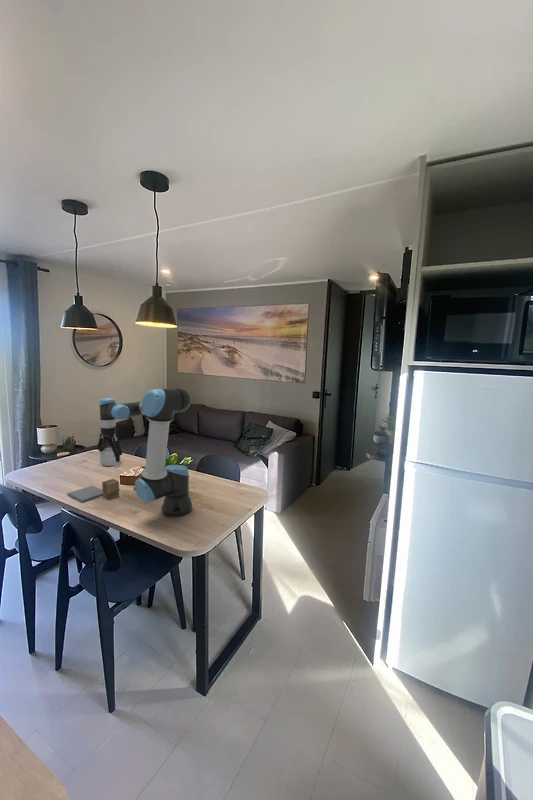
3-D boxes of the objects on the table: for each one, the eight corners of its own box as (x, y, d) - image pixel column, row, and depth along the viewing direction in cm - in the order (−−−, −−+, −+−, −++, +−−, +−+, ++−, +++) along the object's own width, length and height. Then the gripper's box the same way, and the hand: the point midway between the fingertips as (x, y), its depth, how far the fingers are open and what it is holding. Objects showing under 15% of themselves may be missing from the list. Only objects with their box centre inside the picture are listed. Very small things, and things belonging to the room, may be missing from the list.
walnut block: (119, 496, 179) (118, 481, 177) (109, 500, 174) (108, 484, 172) (113, 493, 182) (112, 478, 181) (102, 497, 177) (102, 481, 176)
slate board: (107, 494, 181) (107, 491, 181) (82, 503, 170) (82, 500, 169) (92, 487, 190) (92, 485, 190) (67, 495, 178) (67, 493, 178)
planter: (97, 466, 226) (97, 451, 225) (109, 461, 238) (108, 446, 237) (113, 467, 224) (113, 452, 223) (124, 462, 236) (123, 448, 235)
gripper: (128, 428, 169) (129, 467, 172) (102, 422, 183) (103, 458, 185) (115, 431, 163) (116, 471, 166) (88, 424, 176) (90, 462, 179)
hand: (109, 464), depth 175 cm, fingers open, 13 cm apart
